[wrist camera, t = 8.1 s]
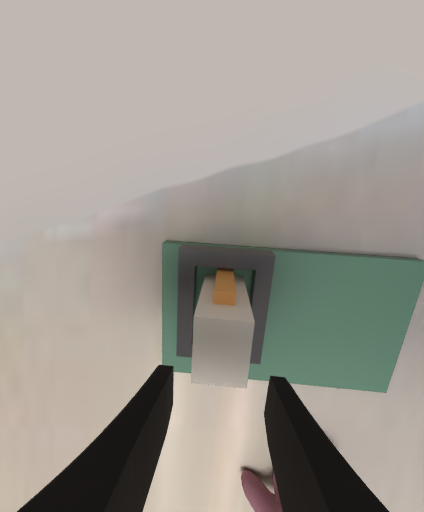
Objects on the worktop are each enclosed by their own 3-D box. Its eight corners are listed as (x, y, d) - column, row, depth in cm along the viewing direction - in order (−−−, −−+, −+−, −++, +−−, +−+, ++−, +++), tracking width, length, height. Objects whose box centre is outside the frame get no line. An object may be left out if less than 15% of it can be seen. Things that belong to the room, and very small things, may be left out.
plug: (244, 267, 16) (256, 307, 10) (238, 321, 17) (246, 388, 11) (206, 264, 16) (194, 301, 10) (203, 318, 17) (190, 382, 11)
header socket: (270, 250, 16) (275, 255, 14) (257, 351, 18) (260, 364, 16) (182, 244, 16) (178, 248, 14) (180, 344, 18) (176, 356, 17)
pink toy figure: (261, 468, 25) (300, 568, 19) (234, 475, 22) (269, 591, 17) (316, 418, 22) (380, 514, 17) (292, 419, 20) (357, 531, 14)
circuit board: (417, 258, 16) (429, 261, 15) (377, 383, 19) (386, 392, 18) (166, 240, 17) (162, 242, 16) (165, 362, 20) (162, 370, 19)
